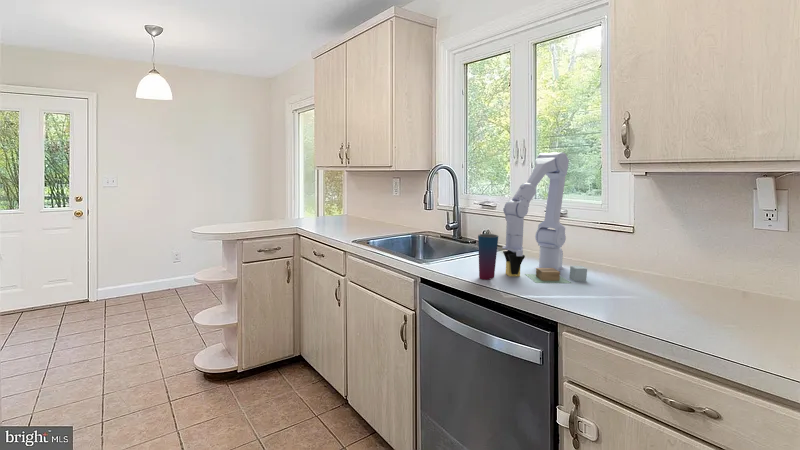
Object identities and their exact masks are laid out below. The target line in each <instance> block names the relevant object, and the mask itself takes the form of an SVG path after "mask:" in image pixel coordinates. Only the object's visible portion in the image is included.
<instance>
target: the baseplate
mask: <svg viewBox="0 0 800 450" xmlns="http://www.w3.org/2000/svg"><path fill="white" fill-rule="evenodd" d="M524 275H525V276H526V277H527V278H529V279H530V280H532V282H534V283H536V284H572V282H571V281H570V280H568V279H566V278H565V277H563V276H561V275H560V281H542V280H540V279H539V278H538V277H536V273H535V274H534V273H529V274H528V273H525V274H524Z"/></svg>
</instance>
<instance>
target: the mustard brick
mask: <svg viewBox="0 0 800 450" xmlns="http://www.w3.org/2000/svg"><path fill="white" fill-rule="evenodd" d="M505 261H506V260H505ZM521 265H522V264H521ZM521 265H520V267H522V266H521ZM505 274H506V275H507V277H520V276H521V268H520V269H519V272H518V274H511V266H510V261H506V262H505Z"/></svg>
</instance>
